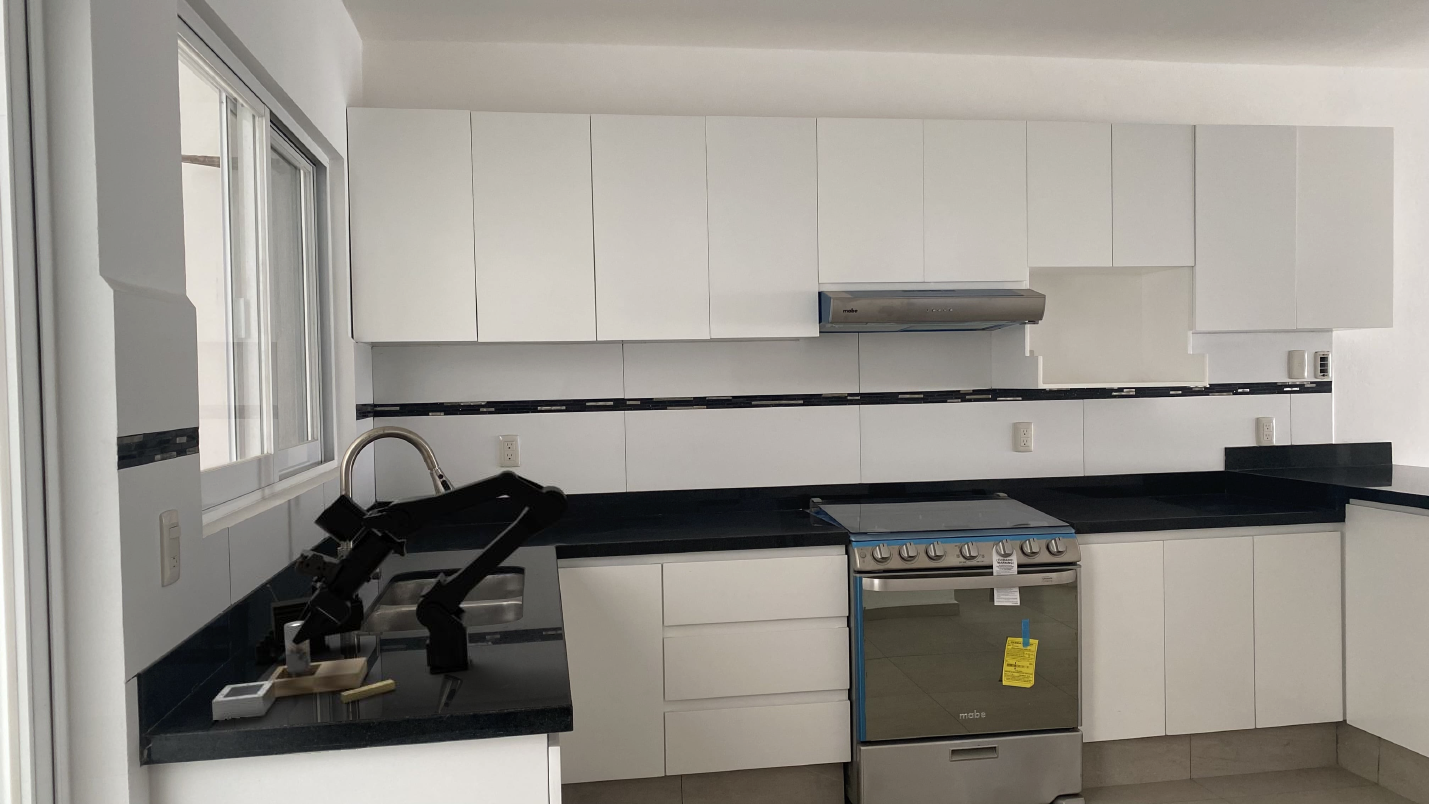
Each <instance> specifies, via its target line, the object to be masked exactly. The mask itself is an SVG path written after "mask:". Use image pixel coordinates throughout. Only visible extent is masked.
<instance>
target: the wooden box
mask: <svg viewBox="0 0 1429 804" xmlns="http://www.w3.org/2000/svg"><path fill="white" fill-rule="evenodd" d="M367 673H368V663H367V657H357V658H356V657H355V658H349V659H347V658H346V659H338V660H328V661H327V660H326V661H320V662H311V676H304V677H295V678H287V665H281V666H278V667H277V668H276V670H275V671H274V672H273V673H272V674H271V676H270V677H269V679H267V681H274V683H275V698H278V697H287V696H296V695H304V694H312V693H313V694H314V693H315V694H316V693H324V692H331V691H340V690H341V689H342V690H351V689H357V688H361V685H362V683H363V682H364V679H365V677H366V675H367ZM350 688H351V689H350Z"/></svg>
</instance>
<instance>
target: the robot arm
mask: <svg viewBox="0 0 1429 804" xmlns="http://www.w3.org/2000/svg"><path fill="white" fill-rule="evenodd" d="M503 496H507V497H509V498H511V499H513V500H514V501H516V502H518V503H519V504H521V505H523V506H524V507H525V508H524V509H523V510H522V512H521V513H520V515H519V516H518V517H517V519H516V520H515V521H513V522H512V523H511V524H510V525H509V526H508V527H507V528H506V529H505V530H504V531H502V532H501V533H500V534H498V536H496V538H494V539H493V540H492V541H491V542H490V543H489V544H488V545H487V546H485V548H483V549H482V550H481V551H480V552H478V554H477V555H475V556H474V557H473V558H472V559H470V560H469V562H467V564H465V565H464V566H463V567H462V568H461V569H459V570H458V571H457V572H456V573H454V574H452V575H451V576H448V577H446V575H445V574H444V573H443V572H441V573H440V574H438V576H437V577H436V578H435V579H434V580H433V582H432V583H430V584H428V585H424V588H423V590H422V592H421V594H420V599H419V602H418V604H417V605H416V608H415V615H416V620H417V621H418V623H420V625H422V626H423V627H425V628H426V629H427V630H428V633H429V634H428V639H426V643H425V649H426V651H425V652H426V666H427V667H428V668H429V670H428V671H429V672H428V673H429V674H434V673H444V672H452V671H453V672H454V671H463V670H469V668H470V662H471V655H470V651H469V649H470V648H469V632H468V630H469V629H468V626H464V625H465V621H466V617H467V614H468V611H466V610H465V609H464V607H461V604H462V603H463V602H464V601H465V600H466V598H467V596H468V595H469V594H470V592H471V591H472V590H474V588H475V587H477V586H478V585H479V584H480V583H481V582H482V581H483V580H485V579H486V577H488V576H489V575H490V574H491V573H492V572H493V571H494V570H495V569H496V568H498V567H499V566H500V565H501V564H502V563H504V561H506V560H507V559H508V558H509V557H510V556H511V555H513V553H515V552H516V551H517V550H519V548H520V547H522V546H523V544H525V543H526V542H527V541H528V540H529V539H530V538H533V537H534V536H535V535H537V534H539V533H542V532H544V531H545V530H547V529H549V528H550V527H552V526H554V525H556V524H557V523H558V522H560V521H562V519H564V518H565V516H566V515H567V513H568V509H569V507H568V506H569V504H568V503H569V502H568V500H567V496H566V493H565V492H564V491H563V490H562V489H561V488H560V487H558V486H555V485H546V486H544V485H542V484H539V483H538V482H535V481H533V480H531V479H528V478H525V477H523V476H521V475H519V474H518V473H516V472H514V470H509V469H507V470H503V471H501V472H499V473H498V474H493V475H492V476H489V477H485V478H482V479H478V480H476V481H473V482H470V483H469V482H468V483H467V484H463V485H460V486H457V487H455V488H451V489H448V490H445V491H442V492H439V493H435V494H425V495H416V496H409V497H401V498H398V499H395V500H394V501H393V502H391V503H390V504H389V506H387V507H383V508H378V509H377V508H376V509H375V508H374V510H370V511H369V512H368V511H367V510H365V509H364V507H362V506H360V504H358V503H356V502H355V500H353V498H352V497H351V496H350V495H349V494H347V493H346V492H343V493H342V494H340V495H339V496H338V497H337V498H336V500H334V501H333V502H332V503H331V504H330V505H329V506H328V507H327V508H325V509H324V510H323V511H322V512H321V514H319V515H318V517H317V518H316V519H315V520H314V522H313V524H315V525H316V526H317V527H319V528H320V529H321V530H322V531H324V532H325V533H326V534H328V535H329V536H330V537H331V538H333V539H334V540H335V541H336V542H337V543H339V544H342V543H347V542H348V543H351V542H352V541H353V540H354V539H356V537H358V535H359V534H360V533H361V532H362V531H363V530H364V529H366V531H365V532H364V533H363V534H362V535H361V537H360V538H358V540H357V541H356V542H355V543H354V544H353V545H352V546H351V547H350V549H349V550H348V551H347V552H346V553H341V554H340V555H338V557H337V558H334V557H332V556H329V555H327V554H323V553H319V552H316V551H313V550H309V549H306V548H305V549H302V550H301V552H300V554H299V556H298V559H297V562H296V564H295V566H294V572H295V573H298V574H299V575H300V574H301V575H304V574H306V575H309V576H312V577H313V582H311V587H310V588H311V596H310V597H311V599H310V600H309V603H308V604H307V606H306V608H305V609H304V611H303V613H302V614H301V616H300V618H299V619H298V621H304V622H303V624H302V626H301V627H300V629H299V630H298V632H297V633H296V635H295V637H294V638H293V640H292V642H293V643H294V644H296V645H299V644H301V643H302V642H304V641H306V640H308V639H310V638H312V637H314V636H316V635H318V634H320V633H322V632H324V631H326V630H328V629H330V628H332V627H334V626H338V625H340V623H341V624H343V623H344V622H345V621H346V620H347V618H348V617H349V616H350V615H351V610H350V603H351V602H352V601H353V600H354V599H355V594H356V593H359V591H360V590H361V589H362V588H363V586H364V585H365V584H369V583H370V582H371V580H372V579H373V575H374V574H375V573H376V572H377V571H378V570H379V569H380V568H381V566H382V565H383V564H384V563H385V562H386V561H387V560H388V558H390V556H391V555H392V554H393V553H394V552H395V553H396V554H397V555H399V556H400V557H401V558H403V557H405V556H406V554H407V551H406V543H407V540H406V539H399V540H398V538H400V537H405V536H408V535H409V534H411V533H413V532H416V531H417V530H419V529H421V528H423V527H425V526H426V525H428V524H429V523H431V522H433V521H435V520H437V519H438V518H441V517H443V516H446V515H448V514H452V513H455V512H458V511H461V510H464V509H466V508H467V509H468V508H471V507H473V506H475V505H479V504H482V503H485V502H488V501H492V500H494V499H498V498H500V497H503ZM378 530H380V531H381V530H382V531H383V532H382V533H381V532H379V531H378ZM396 537H398V538H396Z"/></svg>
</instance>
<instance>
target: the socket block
mask: <svg viewBox="0 0 1429 804" xmlns="http://www.w3.org/2000/svg"><path fill="white" fill-rule="evenodd" d="M276 698H277V697H275V683H274V681H268V680H267V681H265V680H264V681H258V682H247V683H238V684H228V685H226V686H225V687H224V688H223V689H222V690H221V691H220V692H219V693H218V694H217V696H215V698H214V699H213V700H212V702H211V705H212V720H213V722H215V721H214V720H219V721H225V719H227V720H232V719H231V718H236V719H241V718H240V717H245V718H251V717H252V718H253V717H260V716H265V714H267V713H266V712H267V711H268V710H269V709H270V707H271V706H272V705H273V703H274V702H275V701H276Z"/></svg>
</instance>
